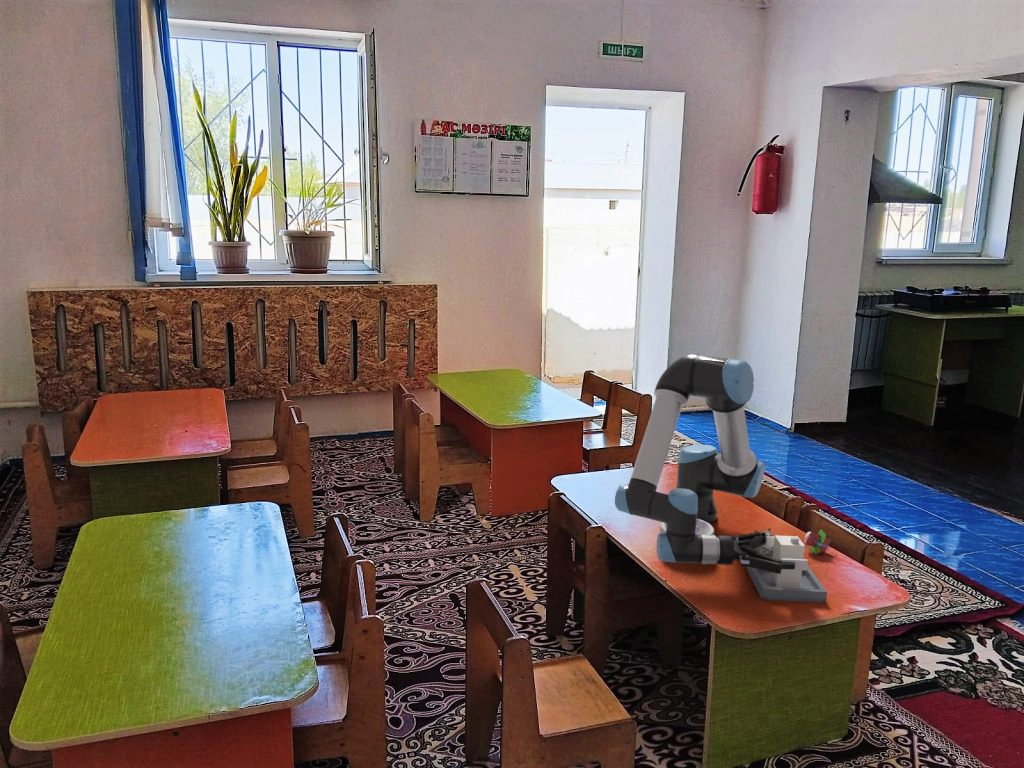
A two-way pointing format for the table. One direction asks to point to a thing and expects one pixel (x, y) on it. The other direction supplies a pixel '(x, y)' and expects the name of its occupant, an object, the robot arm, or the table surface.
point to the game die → (763, 548)
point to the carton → (791, 550)
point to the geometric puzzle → (817, 541)
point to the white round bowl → (701, 528)
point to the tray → (806, 593)
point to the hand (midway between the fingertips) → (798, 553)
